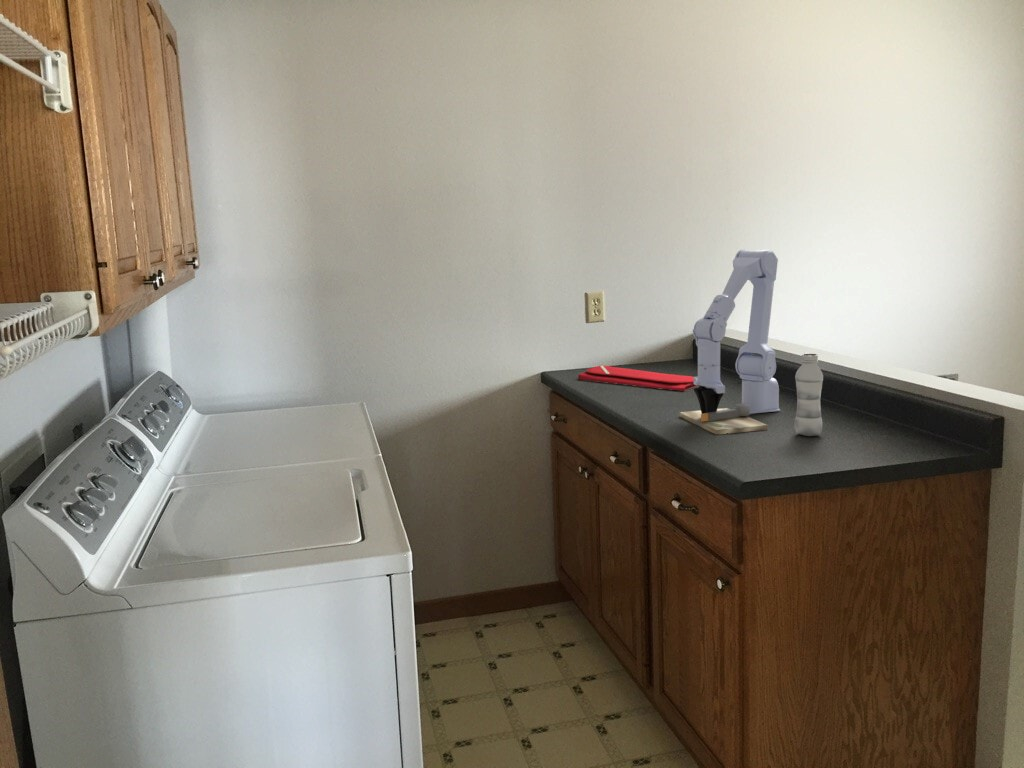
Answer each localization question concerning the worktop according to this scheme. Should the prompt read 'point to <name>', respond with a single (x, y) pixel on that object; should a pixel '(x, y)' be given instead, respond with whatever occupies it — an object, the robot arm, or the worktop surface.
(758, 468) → the worktop surface
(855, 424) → the worktop surface
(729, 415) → the grey bar
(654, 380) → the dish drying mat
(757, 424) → the light wood flat board
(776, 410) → the robot arm
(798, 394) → the plastic bottle
